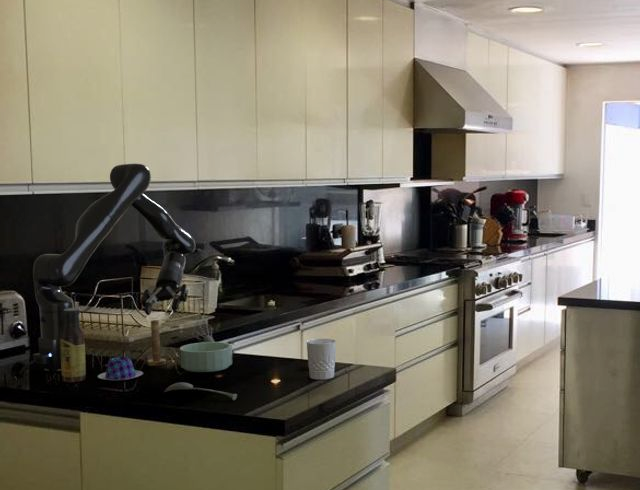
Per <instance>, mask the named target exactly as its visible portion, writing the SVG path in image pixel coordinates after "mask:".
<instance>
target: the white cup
mask: <svg viewBox="0 0 640 490" xmlns="http://www.w3.org/2000/svg"><path fill="white" fill-rule="evenodd" d="M336 342H337V341H336V340H335V339H332V338H313V339H309V340H307V341H306V353H307V364H308V365H307V366H308V370H309V371H308V372H309V373H308V374H309V378H310V379H311V380H316V381H317V380H319V381H320V380H321V381H322V380H323V381H324V380H330V379H333V378H335V367H336V347H337V346H336V345H337V344H336Z"/></svg>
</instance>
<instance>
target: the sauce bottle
mask: <svg viewBox="0 0 640 490" xmlns="http://www.w3.org/2000/svg"><path fill="white" fill-rule="evenodd" d="M63 315H64V327H63V330H62V334H61V337H60V352H61V372H60V373H61V376H62V377H61V378H62V379H61V380H62V382H64V383H71V384H72V383H79V382H84V381H86V374H87V370H86V344H85V333H84V331H83V329H82V328H81V326H80V308H77V307H74V308H67V309H64V310H63Z"/></svg>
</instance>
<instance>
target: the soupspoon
mask: <svg viewBox="0 0 640 490" xmlns="http://www.w3.org/2000/svg"><path fill="white" fill-rule="evenodd" d="M176 390H189V391H201V392H202V391H203V392H208V393H216V394H221V395H224V396H225V397H226V396H227V397H228V398H230V399H231V400H232V401H236V399H237V398H238V394H237V393H231V392H227V391H226V392H225V391H220V390H214V389H208V388H202V387H194V385H193V384H191V383H189V382H184V381H183V382H181V381H180V382H176V383H173V384H171V385H169V386H168V387H166V389H165V390H164V391H163V393H167V392H170V391H176Z"/></svg>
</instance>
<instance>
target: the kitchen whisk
mask: <svg viewBox="0 0 640 490" xmlns="http://www.w3.org/2000/svg"><path fill="white" fill-rule="evenodd" d="M196 322H197V324H198V326H196V325H192V326H191V328H192V329H193V331H192V336H193V337H194V338H196V339H197V340H198V341H199V343H202V342H216V341H215V339H214V338H213V331H211V332H210V331H209V328H208V327H210V328H211V329H213V328H212V326H211V325H210V324H208V323H207V322H205V320H203V321H202V322H201V324H203V323H204V322H205V325H201V324H200V323H199V321H196ZM207 325H208V326H207ZM194 327H195V328H194ZM203 327H206V328H203ZM197 330H198V331H197ZM206 330H207V334H206V333H205V332H204V331H206ZM199 331H200V332H201V334H200V333H199ZM194 332H196V333H197V334H199V335H200V336H201V337H203V339H202V338H201V340H202V341H201V340H200V338H199V337H198V336H195V335H194ZM202 333H204V335H203V334H202ZM209 333H210V335H209Z"/></svg>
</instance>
